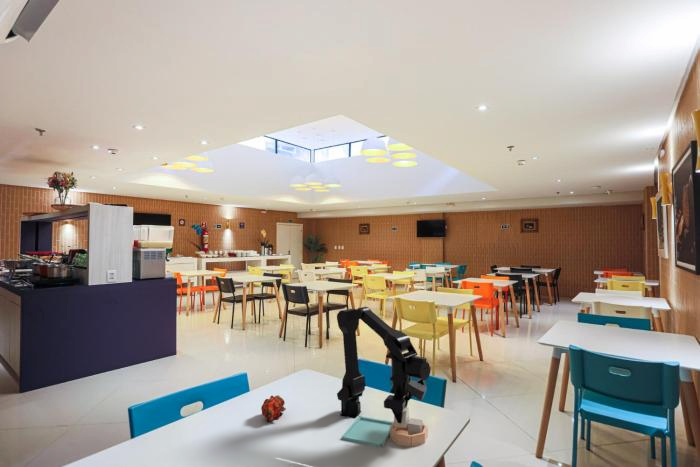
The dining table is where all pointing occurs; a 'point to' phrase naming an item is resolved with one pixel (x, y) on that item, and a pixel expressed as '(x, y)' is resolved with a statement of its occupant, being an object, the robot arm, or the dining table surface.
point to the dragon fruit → (273, 408)
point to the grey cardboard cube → (403, 419)
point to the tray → (368, 431)
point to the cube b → (415, 426)
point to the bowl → (408, 436)
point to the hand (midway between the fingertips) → (401, 420)
